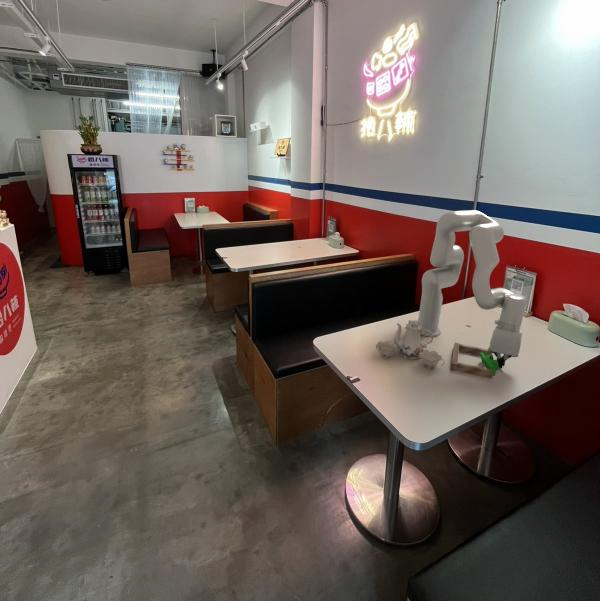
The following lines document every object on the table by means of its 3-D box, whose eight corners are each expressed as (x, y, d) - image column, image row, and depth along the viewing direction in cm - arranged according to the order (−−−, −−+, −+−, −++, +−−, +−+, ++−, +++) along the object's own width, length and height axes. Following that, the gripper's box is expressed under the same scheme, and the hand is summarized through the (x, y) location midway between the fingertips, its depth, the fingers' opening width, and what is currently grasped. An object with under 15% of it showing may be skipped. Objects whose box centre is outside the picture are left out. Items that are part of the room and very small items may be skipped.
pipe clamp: (502, 374, 142) (500, 364, 141) (492, 376, 143) (490, 367, 142) (491, 359, 153) (488, 350, 151) (481, 361, 154) (479, 352, 152)
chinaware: (371, 363, 154) (374, 329, 146) (378, 342, 168) (381, 310, 160) (442, 377, 145) (449, 341, 137) (443, 354, 159) (449, 320, 151)
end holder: (450, 369, 147) (451, 363, 146) (453, 348, 164) (454, 342, 163) (492, 379, 141) (493, 372, 140) (490, 355, 158) (492, 349, 157)
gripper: (488, 325, 141) (479, 366, 148) (532, 333, 136) (521, 375, 142) (487, 318, 148) (479, 358, 154) (530, 325, 142) (519, 366, 149)
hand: (499, 366), depth 148 cm, fingers closed
